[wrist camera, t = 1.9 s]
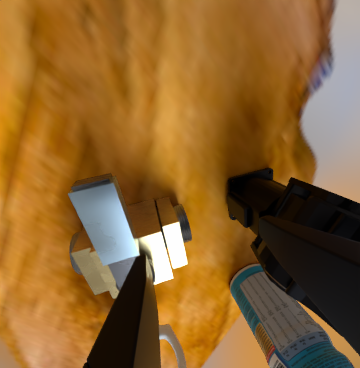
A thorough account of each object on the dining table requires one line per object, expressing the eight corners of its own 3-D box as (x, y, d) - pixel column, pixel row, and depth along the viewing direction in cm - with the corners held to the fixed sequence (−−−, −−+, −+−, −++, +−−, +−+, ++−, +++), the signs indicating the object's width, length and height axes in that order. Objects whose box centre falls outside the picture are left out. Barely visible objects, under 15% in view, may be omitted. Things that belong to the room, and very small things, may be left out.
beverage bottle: (251, 254, 29) (446, 486, 11) (276, 270, 32) (455, 466, 14) (218, 288, 30) (345, 548, 12) (246, 300, 33) (376, 515, 15)
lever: (122, 165, 12) (119, 177, 9) (157, 275, 16) (160, 300, 14) (72, 176, 11) (57, 191, 9) (123, 287, 16) (121, 314, 13)
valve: (177, 192, 21) (193, 222, 15) (184, 230, 23) (201, 268, 18) (75, 219, 19) (49, 264, 13) (95, 257, 22) (80, 310, 16)
